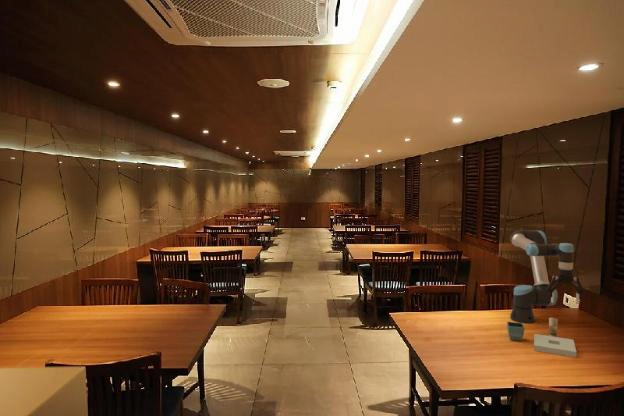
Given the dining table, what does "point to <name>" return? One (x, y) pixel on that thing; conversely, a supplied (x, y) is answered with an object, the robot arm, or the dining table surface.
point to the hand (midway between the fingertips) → (564, 303)
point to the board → (554, 345)
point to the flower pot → (515, 330)
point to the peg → (553, 327)
